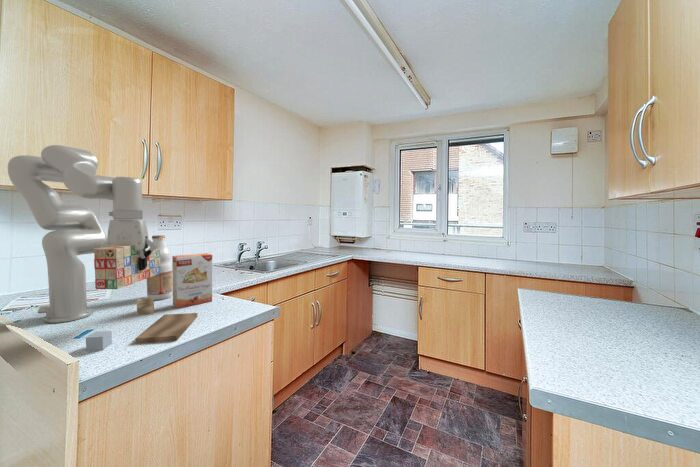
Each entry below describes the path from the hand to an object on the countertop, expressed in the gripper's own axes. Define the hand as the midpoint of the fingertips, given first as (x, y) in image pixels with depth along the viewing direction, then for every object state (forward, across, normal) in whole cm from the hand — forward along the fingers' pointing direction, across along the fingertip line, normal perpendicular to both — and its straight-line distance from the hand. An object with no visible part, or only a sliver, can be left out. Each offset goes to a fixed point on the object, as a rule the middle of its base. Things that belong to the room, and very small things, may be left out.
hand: (130, 269), depth 93 cm
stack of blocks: (+4, 0, +1) cm, 4 cm away
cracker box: (+20, +12, +24) cm, 33 cm away
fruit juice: (+20, -6, +35) cm, 41 cm away
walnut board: (+20, +12, -3) cm, 23 cm away
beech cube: (+20, -2, +15) cm, 25 cm away
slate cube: (+20, -1, -14) cm, 24 cm away
